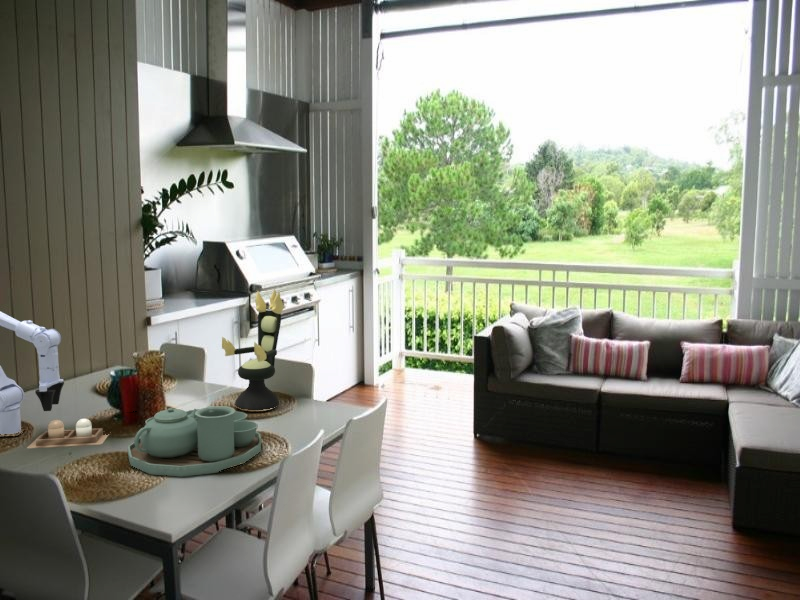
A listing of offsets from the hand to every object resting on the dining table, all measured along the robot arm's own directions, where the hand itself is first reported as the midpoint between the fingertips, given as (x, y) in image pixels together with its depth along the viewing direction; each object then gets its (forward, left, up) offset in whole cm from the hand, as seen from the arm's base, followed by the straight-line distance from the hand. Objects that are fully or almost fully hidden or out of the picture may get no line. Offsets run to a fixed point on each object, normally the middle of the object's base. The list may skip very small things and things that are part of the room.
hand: (51, 407), depth 218 cm
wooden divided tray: (+7, -6, -10) cm, 14 cm away
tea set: (+48, -24, -10) cm, 54 cm away
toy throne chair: (+67, +25, -10) cm, 72 cm away
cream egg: (+11, -6, -9) cm, 16 cm away
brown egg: (+3, -6, -9) cm, 11 cm away
